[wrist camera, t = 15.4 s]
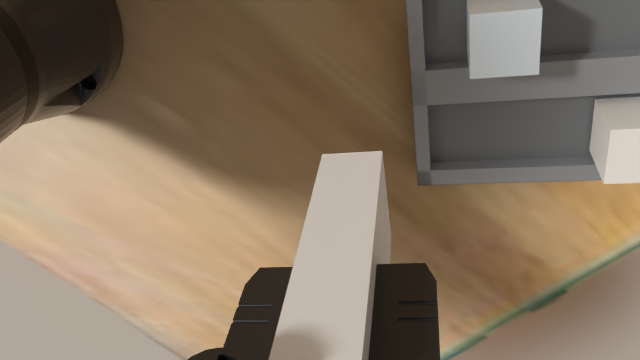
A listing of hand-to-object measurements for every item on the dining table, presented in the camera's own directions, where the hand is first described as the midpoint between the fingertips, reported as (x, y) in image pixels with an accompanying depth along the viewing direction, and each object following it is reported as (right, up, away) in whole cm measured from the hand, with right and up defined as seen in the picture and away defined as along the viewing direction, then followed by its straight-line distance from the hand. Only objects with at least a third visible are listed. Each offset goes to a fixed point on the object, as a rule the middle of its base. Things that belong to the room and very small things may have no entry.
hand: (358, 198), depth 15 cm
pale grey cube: (+11, +11, +23) cm, 28 cm away
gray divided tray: (+16, +9, +26) cm, 31 cm away
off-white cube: (+20, +4, +25) cm, 33 cm away
